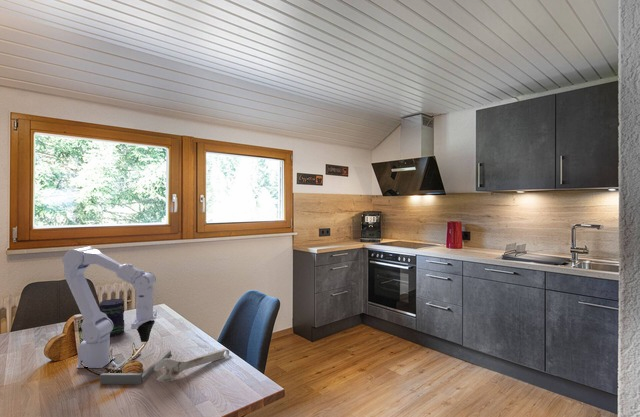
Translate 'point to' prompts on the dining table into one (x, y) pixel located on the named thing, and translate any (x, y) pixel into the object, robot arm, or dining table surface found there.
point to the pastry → (133, 367)
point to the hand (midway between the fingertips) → (144, 341)
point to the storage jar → (114, 314)
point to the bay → (129, 374)
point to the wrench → (186, 364)
